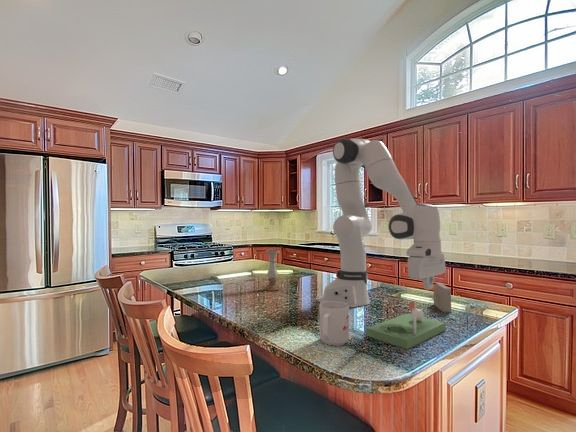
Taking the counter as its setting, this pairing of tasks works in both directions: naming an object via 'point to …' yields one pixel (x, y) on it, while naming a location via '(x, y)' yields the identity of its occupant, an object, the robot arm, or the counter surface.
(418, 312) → the ball
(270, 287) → the candle holder
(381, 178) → the robot arm
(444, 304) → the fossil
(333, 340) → the mug
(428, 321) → the green
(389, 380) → the counter surface
